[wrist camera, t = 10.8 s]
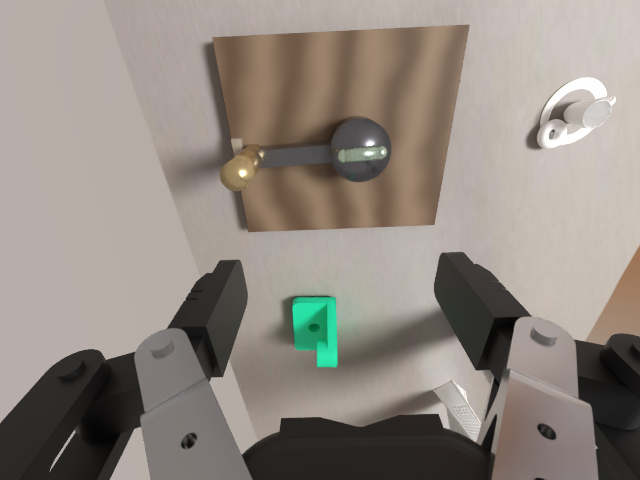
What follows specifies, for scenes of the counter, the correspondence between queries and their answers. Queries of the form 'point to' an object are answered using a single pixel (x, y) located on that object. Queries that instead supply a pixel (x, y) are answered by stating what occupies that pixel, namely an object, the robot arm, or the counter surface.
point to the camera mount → (316, 328)
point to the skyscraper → (459, 410)
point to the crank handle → (318, 154)
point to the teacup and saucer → (575, 114)
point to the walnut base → (333, 107)
